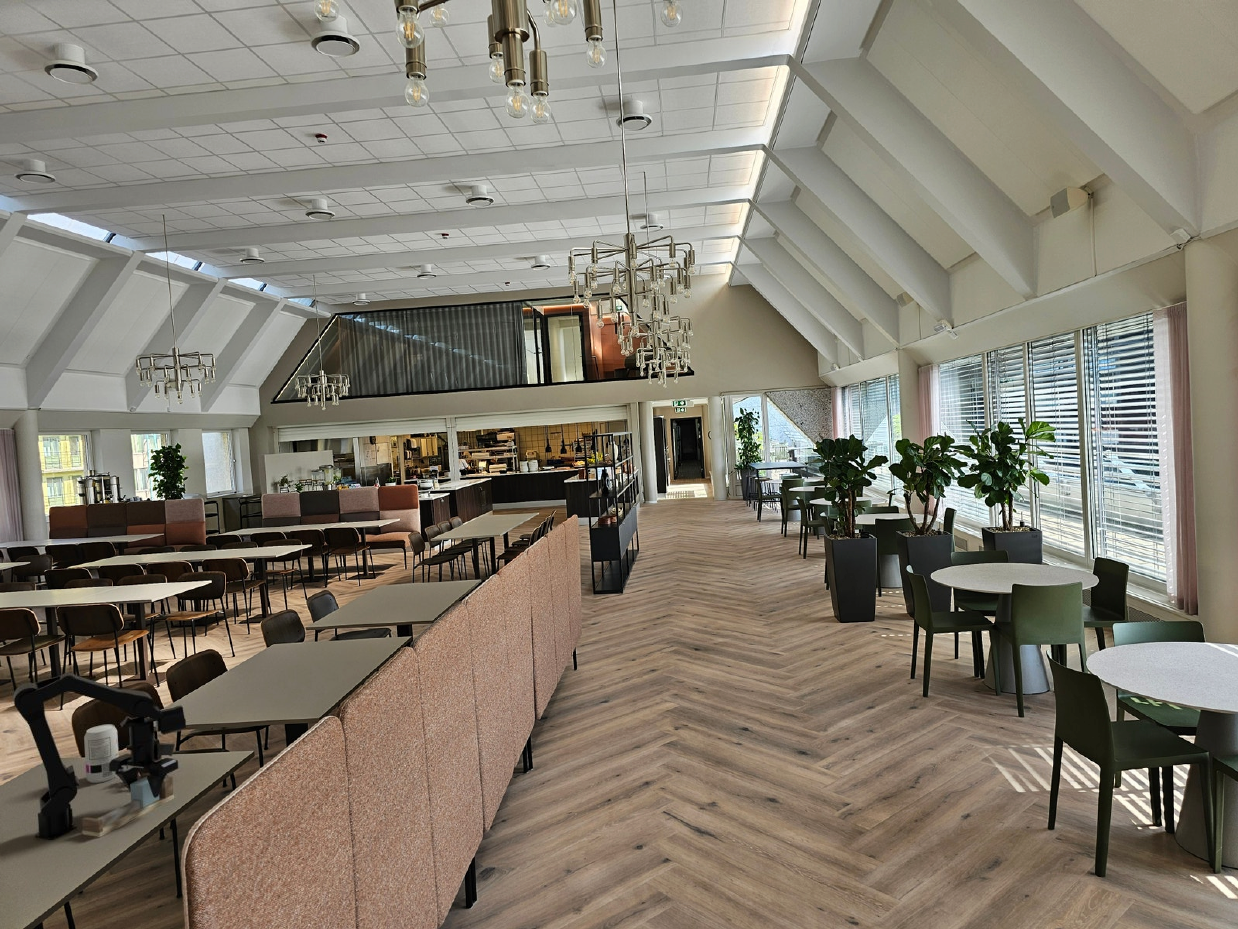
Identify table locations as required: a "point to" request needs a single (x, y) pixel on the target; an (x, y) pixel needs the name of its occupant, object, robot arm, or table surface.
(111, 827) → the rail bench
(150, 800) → the light blue block
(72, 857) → the table surface
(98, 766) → the supplement can
